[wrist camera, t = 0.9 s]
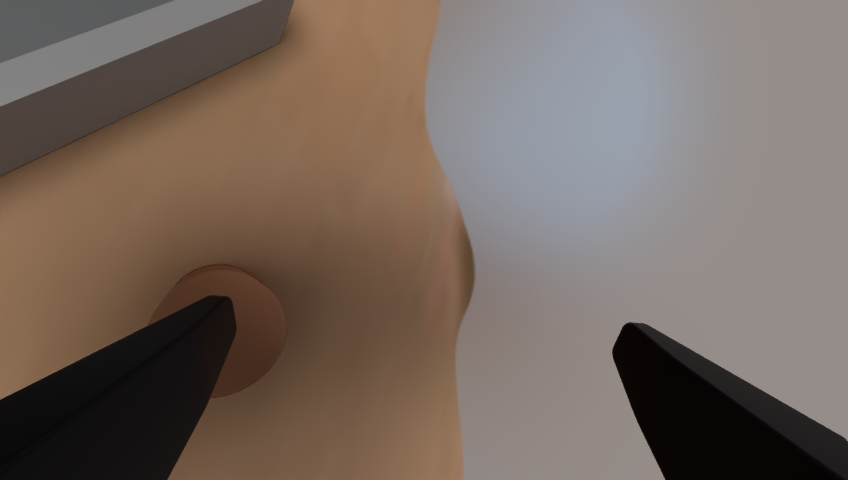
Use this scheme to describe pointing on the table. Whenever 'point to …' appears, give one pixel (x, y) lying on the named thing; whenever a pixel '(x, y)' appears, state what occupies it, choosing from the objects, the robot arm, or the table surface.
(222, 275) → the peg
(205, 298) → the robot arm
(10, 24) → the socket box
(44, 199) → the table surface
